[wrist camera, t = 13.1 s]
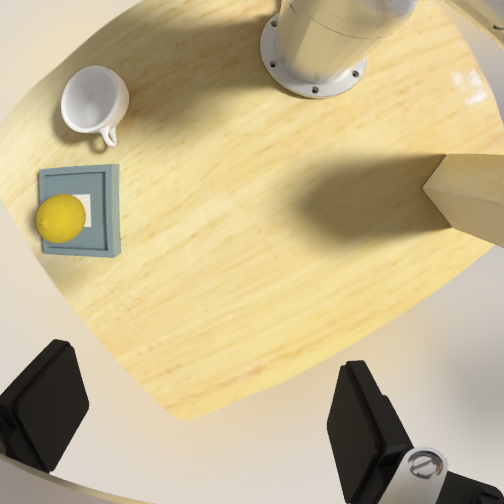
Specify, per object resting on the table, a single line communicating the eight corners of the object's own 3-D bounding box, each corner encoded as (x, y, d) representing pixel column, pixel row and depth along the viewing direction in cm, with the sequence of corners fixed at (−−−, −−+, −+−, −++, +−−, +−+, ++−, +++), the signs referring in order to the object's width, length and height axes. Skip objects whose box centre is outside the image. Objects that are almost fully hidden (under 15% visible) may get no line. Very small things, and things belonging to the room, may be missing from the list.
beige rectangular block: (480, 191, 36) (595, 219, 15) (453, 229, 37) (566, 279, 17) (450, 149, 34) (573, 152, 14) (420, 188, 36) (543, 216, 16)
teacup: (75, 95, 33) (53, 88, 27) (125, 65, 32) (108, 52, 27) (98, 162, 35) (77, 162, 30) (151, 133, 34) (135, 128, 29)
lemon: (78, 181, 34) (41, 187, 27) (104, 214, 35) (71, 227, 28) (53, 211, 35) (16, 223, 27) (78, 243, 36) (44, 261, 29)
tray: (48, 168, 35) (39, 169, 33) (119, 164, 35) (111, 164, 33) (52, 249, 38) (43, 253, 36) (121, 252, 38) (114, 257, 36)
